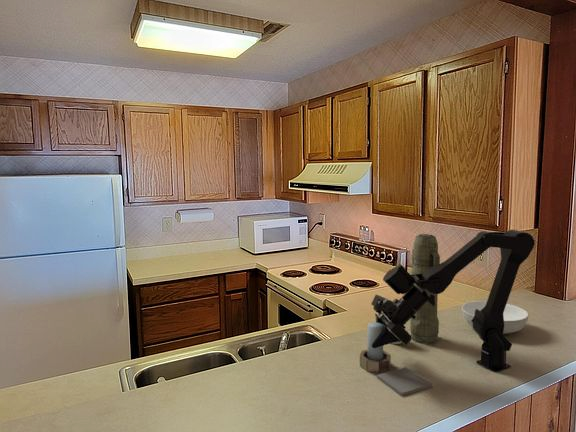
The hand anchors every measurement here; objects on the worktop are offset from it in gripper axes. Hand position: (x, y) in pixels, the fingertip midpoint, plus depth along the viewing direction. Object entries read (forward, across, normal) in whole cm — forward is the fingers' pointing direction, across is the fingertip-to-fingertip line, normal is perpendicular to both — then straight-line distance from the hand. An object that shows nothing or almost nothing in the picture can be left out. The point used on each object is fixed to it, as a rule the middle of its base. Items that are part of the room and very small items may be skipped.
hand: (370, 343), depth 113 cm
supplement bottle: (-4, -16, +13) cm, 21 cm away
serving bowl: (-30, -24, +40) cm, 56 cm away
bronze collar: (+4, 0, +6) cm, 7 cm away
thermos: (-11, -17, +21) cm, 29 cm away
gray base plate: (0, +10, +9) cm, 13 cm away
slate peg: (+4, 0, +6) cm, 7 cm away
